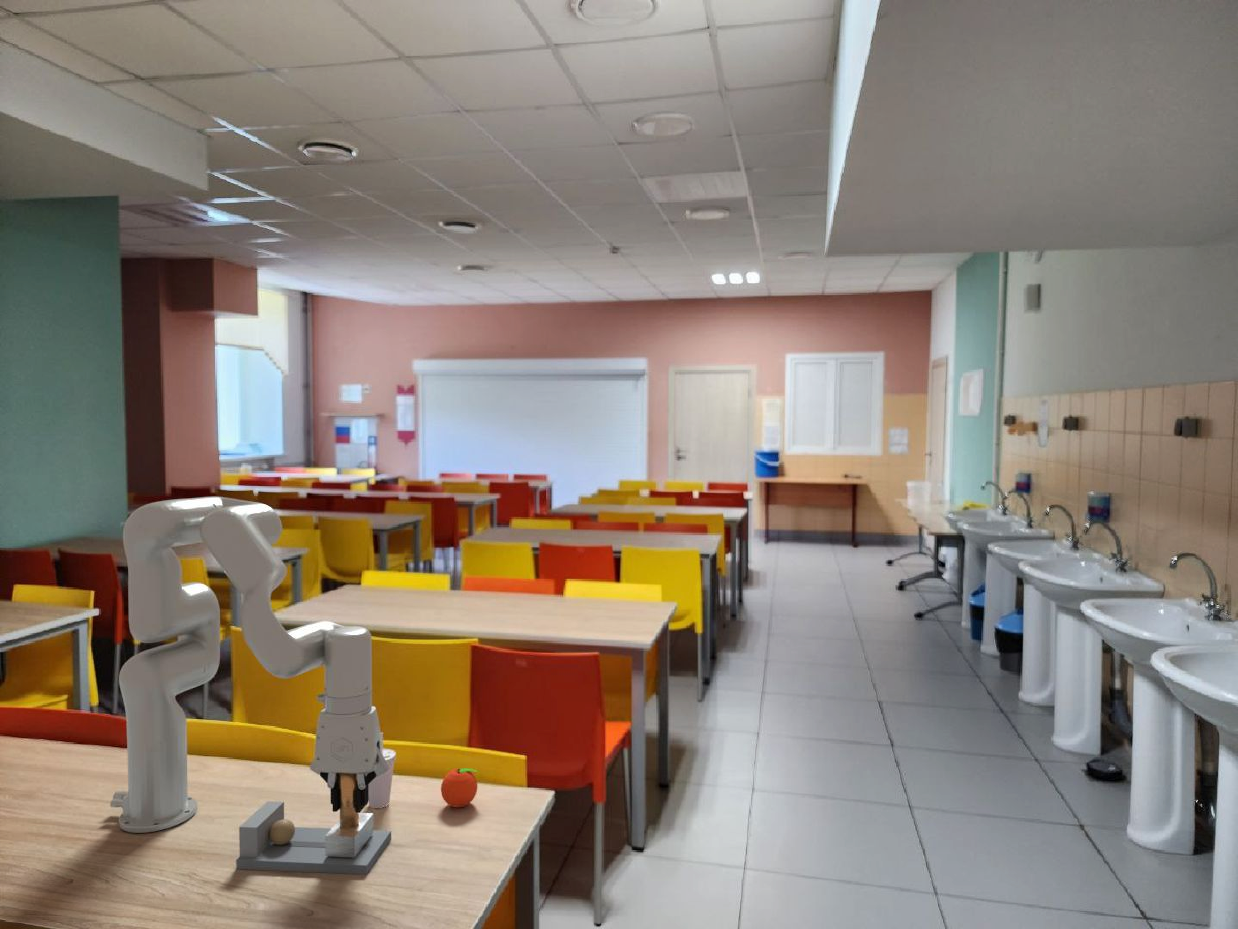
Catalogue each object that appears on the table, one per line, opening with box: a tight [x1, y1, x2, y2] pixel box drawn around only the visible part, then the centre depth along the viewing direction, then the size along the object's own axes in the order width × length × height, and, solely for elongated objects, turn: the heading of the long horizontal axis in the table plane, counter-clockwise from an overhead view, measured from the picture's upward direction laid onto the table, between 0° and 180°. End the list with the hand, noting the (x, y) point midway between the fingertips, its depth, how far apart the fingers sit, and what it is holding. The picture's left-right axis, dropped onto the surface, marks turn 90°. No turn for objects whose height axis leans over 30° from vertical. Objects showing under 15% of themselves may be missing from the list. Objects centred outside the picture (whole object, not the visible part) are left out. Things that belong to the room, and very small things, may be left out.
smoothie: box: [368, 732, 397, 809], centre depth 150 cm, size 6×6×14 cm
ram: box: [325, 773, 374, 857], centre depth 131 cm, size 5×8×15 cm, turn 176°
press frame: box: [235, 800, 392, 875], centre depth 132 cm, size 22×11×6 cm, turn 86°
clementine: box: [440, 767, 482, 808], centre depth 150 cm, size 8×7×7 cm
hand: (349, 807), depth 131 cm, fingers closed on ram, 3 cm apart
